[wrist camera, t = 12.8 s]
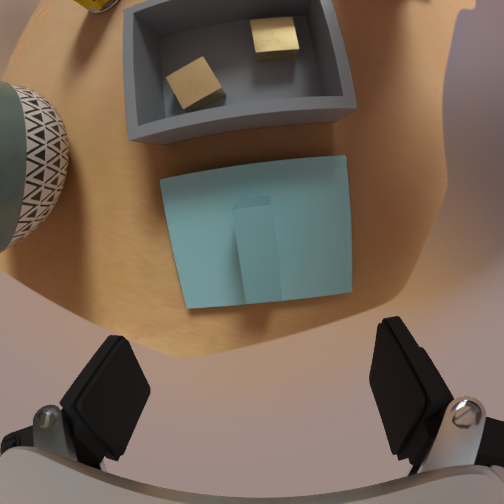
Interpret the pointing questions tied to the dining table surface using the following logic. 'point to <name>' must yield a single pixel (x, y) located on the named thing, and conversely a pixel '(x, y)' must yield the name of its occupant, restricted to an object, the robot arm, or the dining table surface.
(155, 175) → the dining table surface
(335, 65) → the tub
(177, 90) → the brass part
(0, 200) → the planter
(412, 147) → the dining table surface
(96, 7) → the supplement bottle
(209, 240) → the lid
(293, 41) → the brass part
